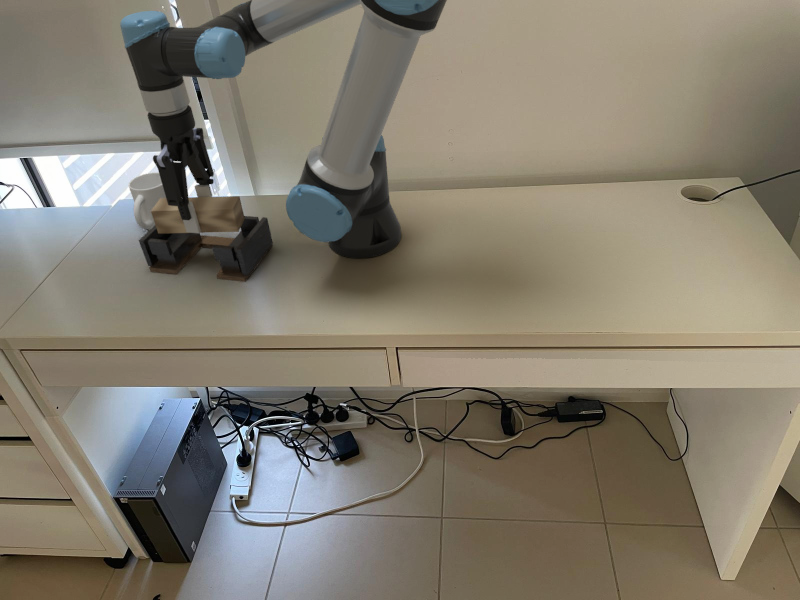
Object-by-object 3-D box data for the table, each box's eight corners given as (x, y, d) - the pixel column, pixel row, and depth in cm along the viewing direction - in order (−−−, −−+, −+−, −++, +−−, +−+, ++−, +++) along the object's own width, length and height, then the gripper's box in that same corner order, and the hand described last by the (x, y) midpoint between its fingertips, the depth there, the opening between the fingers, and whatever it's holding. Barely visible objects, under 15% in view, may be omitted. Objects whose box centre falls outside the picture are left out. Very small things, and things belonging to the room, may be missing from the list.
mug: (161, 241, 137) (146, 199, 131) (127, 239, 139) (111, 197, 133) (187, 213, 147) (174, 172, 140) (155, 212, 148) (141, 171, 142)
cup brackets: (274, 245, 133) (268, 216, 129) (247, 281, 123) (239, 251, 119) (181, 237, 138) (172, 209, 134) (148, 271, 128) (137, 241, 124)
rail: (244, 218, 127) (239, 196, 124) (238, 231, 124) (232, 209, 120) (167, 220, 129) (160, 198, 126) (158, 233, 125) (150, 211, 122)
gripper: (177, 89, 120) (207, 199, 134) (118, 128, 105) (159, 247, 120) (213, 90, 118) (240, 201, 132) (158, 130, 104) (195, 250, 118)
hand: (201, 223), depth 126 cm, fingers closed on rail, 6 cm apart
